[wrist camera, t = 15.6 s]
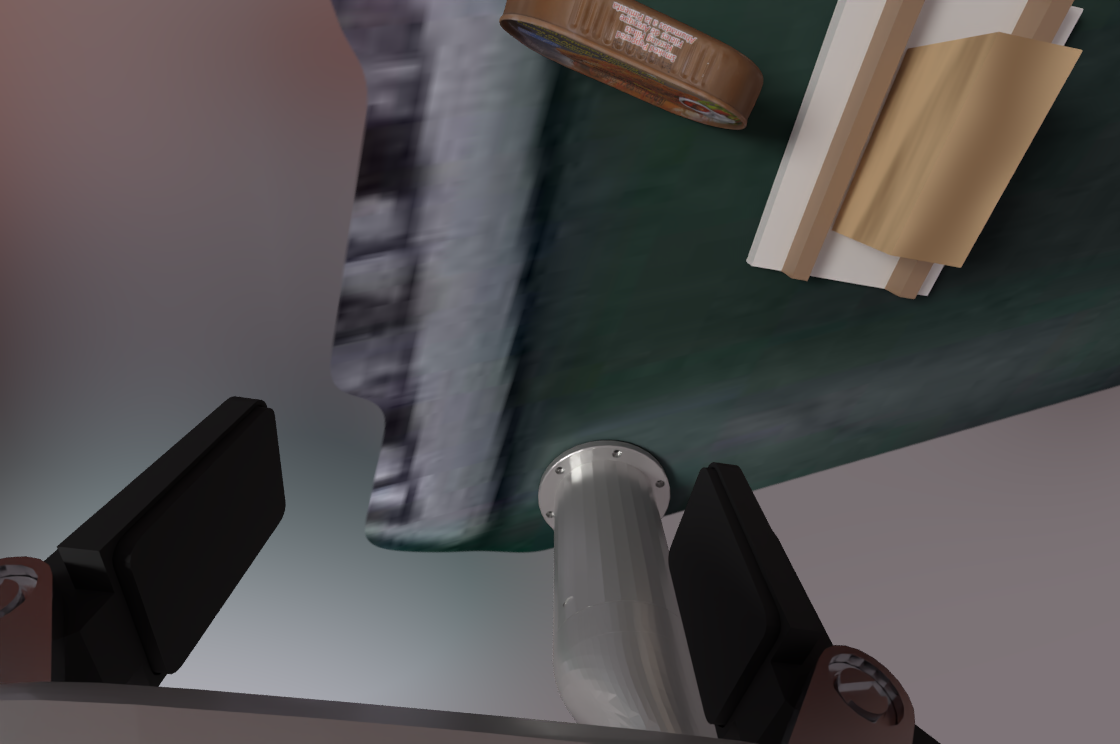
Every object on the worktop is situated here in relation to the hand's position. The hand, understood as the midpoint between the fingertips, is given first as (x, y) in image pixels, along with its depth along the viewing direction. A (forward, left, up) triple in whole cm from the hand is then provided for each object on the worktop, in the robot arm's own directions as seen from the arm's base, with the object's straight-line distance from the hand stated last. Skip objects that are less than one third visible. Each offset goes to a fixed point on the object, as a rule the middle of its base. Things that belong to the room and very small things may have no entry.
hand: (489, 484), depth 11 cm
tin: (+11, -4, -29) cm, 31 cm away
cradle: (+9, -23, -28) cm, 38 cm away
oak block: (+9, -23, -27) cm, 37 cm away
